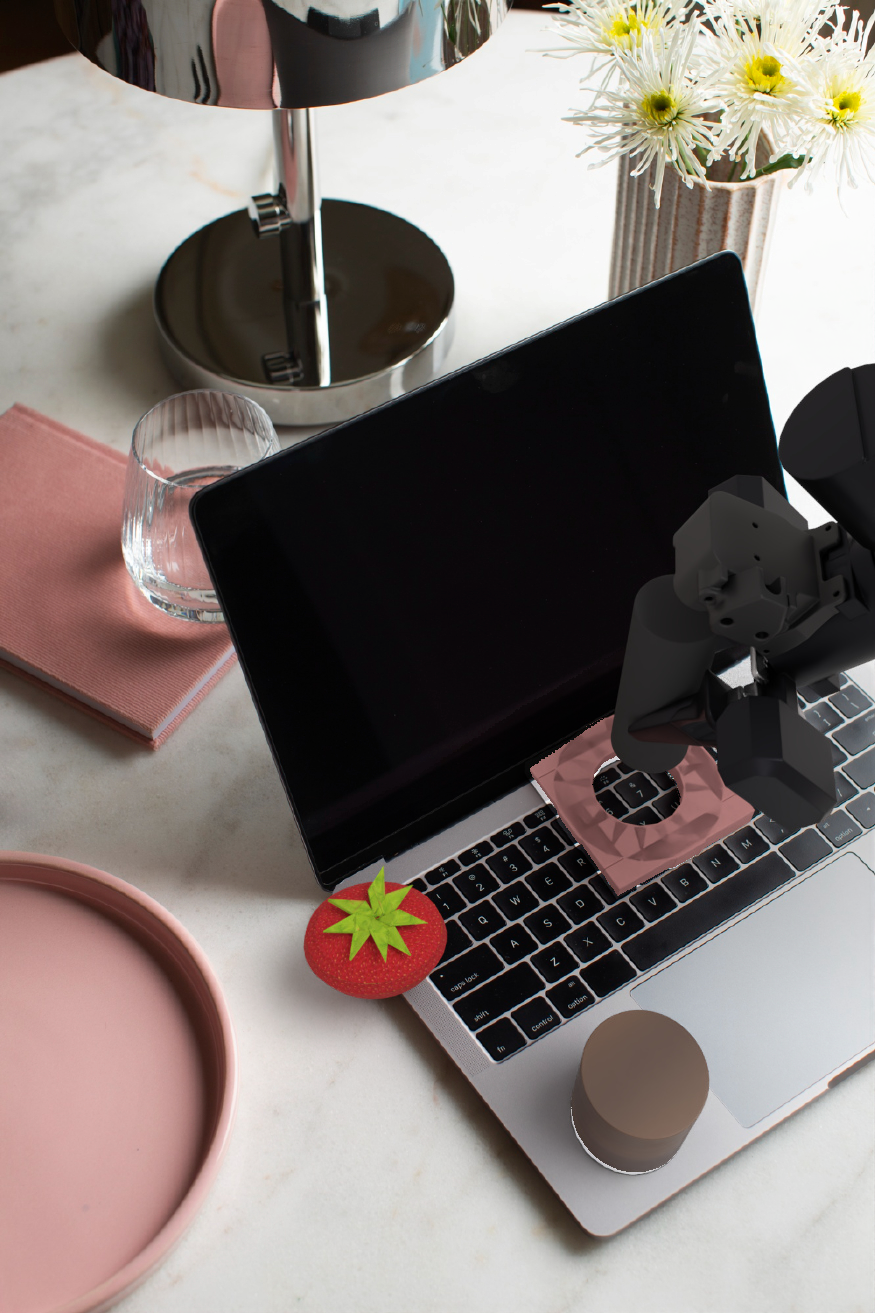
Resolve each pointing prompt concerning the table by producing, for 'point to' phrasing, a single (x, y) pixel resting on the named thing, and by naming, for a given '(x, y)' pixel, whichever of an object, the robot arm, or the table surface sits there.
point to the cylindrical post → (659, 670)
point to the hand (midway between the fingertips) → (633, 698)
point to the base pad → (630, 847)
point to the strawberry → (375, 939)
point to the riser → (638, 1090)
